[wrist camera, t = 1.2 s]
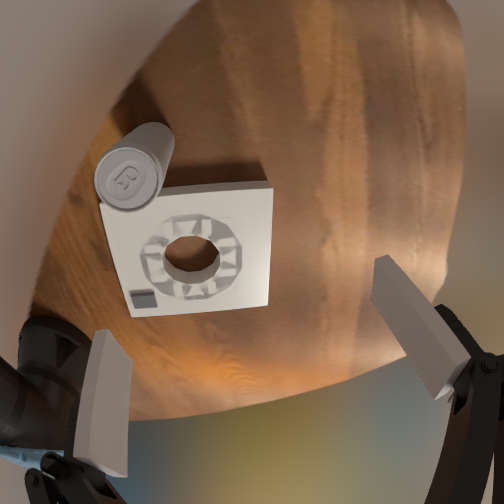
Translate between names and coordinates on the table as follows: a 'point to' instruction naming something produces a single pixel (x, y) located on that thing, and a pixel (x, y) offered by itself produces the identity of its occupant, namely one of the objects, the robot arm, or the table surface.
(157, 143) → the beverage can
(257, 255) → the socket plate
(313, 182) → the table surface
